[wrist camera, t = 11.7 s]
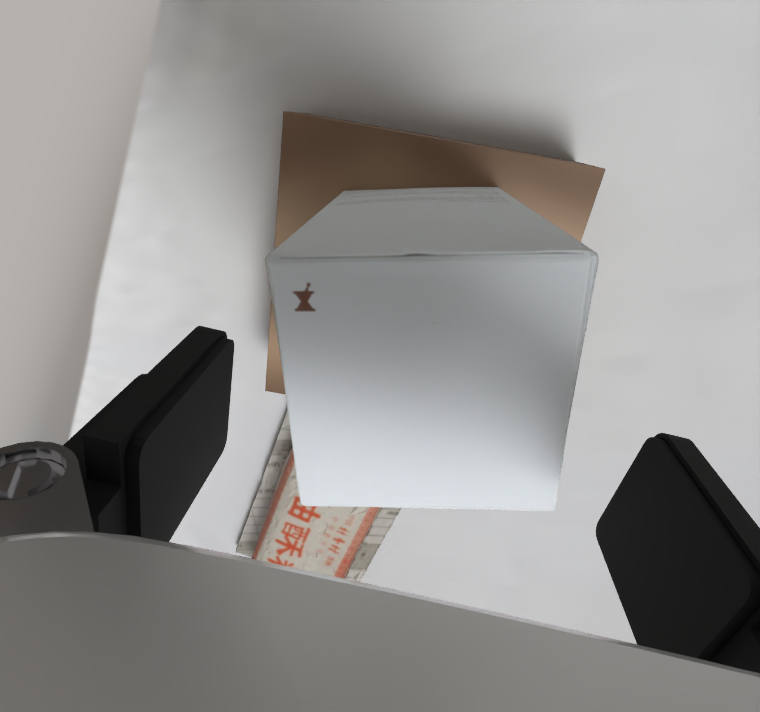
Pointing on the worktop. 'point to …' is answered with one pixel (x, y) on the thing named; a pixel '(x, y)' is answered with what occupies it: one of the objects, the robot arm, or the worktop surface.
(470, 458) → the supplement box
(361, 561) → the packaged product
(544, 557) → the worktop surface
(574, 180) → the walnut block
